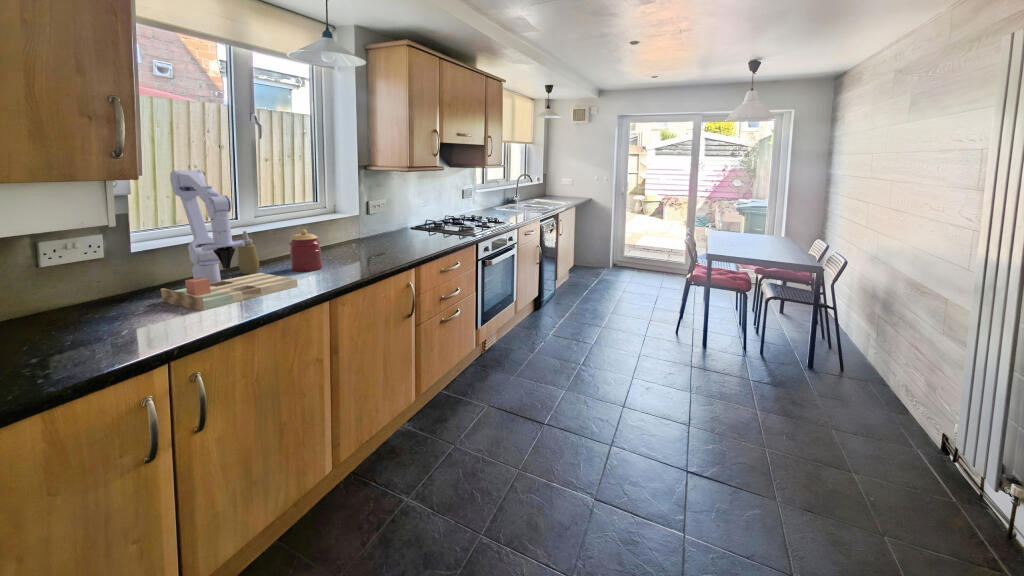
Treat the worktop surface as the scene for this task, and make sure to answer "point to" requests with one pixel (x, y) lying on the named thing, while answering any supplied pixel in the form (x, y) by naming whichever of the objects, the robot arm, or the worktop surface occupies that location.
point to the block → (198, 286)
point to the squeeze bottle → (247, 256)
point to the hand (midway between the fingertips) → (226, 268)
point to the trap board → (230, 291)
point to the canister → (305, 252)
